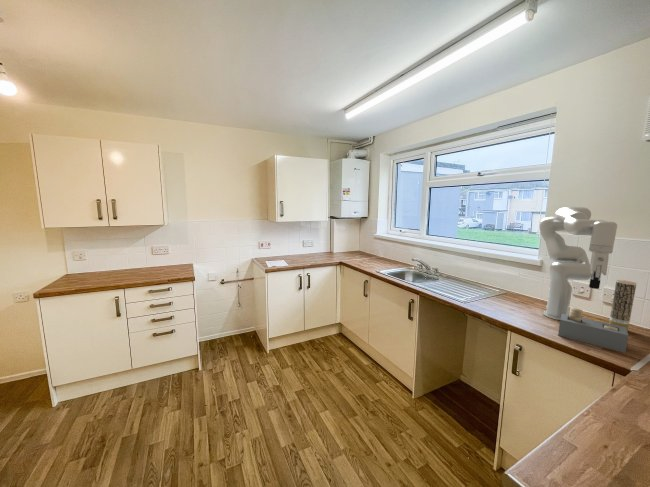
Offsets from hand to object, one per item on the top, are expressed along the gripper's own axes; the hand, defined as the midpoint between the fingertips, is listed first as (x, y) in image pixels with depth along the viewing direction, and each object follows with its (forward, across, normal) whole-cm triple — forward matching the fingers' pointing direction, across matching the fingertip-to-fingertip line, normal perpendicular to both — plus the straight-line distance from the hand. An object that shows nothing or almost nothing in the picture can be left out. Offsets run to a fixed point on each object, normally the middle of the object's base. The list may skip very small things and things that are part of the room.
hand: (593, 287), depth 125 cm
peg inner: (+20, 0, +4) cm, 20 cm away
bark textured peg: (+25, +25, -13) cm, 38 cm away
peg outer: (+25, -1, -8) cm, 26 cm away
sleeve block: (+25, -1, -2) cm, 25 cm away
